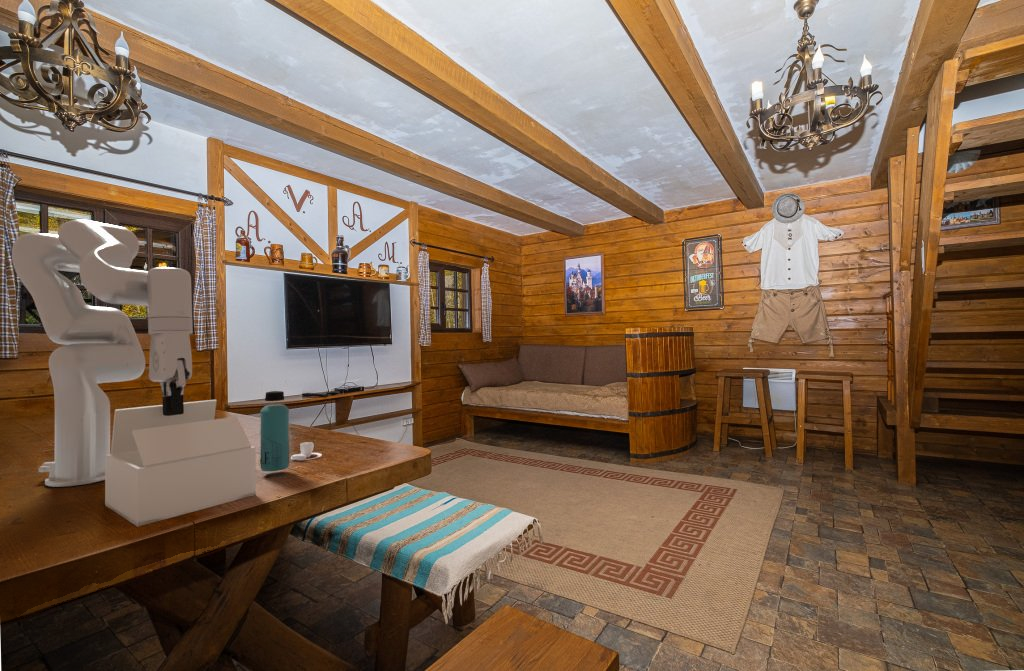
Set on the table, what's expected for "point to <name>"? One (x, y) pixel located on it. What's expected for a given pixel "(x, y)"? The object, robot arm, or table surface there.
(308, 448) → the teacup and saucer
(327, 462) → the table surface
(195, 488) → the carton
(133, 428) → the far flap
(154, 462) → the near flap
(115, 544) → the table surface
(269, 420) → the beverage bottle
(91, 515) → the table surface
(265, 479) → the table surface
